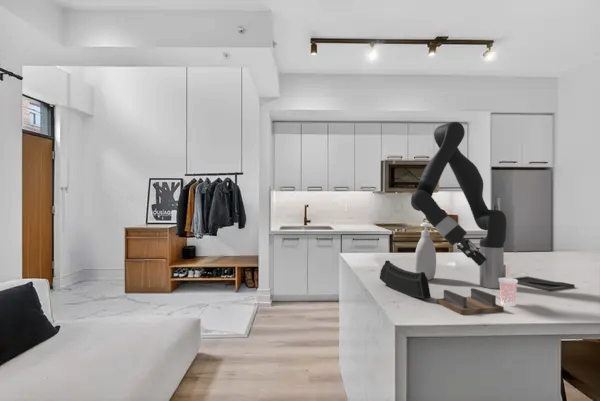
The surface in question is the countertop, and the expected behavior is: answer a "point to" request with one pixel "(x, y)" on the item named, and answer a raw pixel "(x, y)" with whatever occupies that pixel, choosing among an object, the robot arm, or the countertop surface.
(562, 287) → the picture frame
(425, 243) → the soap bottle
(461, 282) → the countertop surface
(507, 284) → the beverage cup
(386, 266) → the magazine
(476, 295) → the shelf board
